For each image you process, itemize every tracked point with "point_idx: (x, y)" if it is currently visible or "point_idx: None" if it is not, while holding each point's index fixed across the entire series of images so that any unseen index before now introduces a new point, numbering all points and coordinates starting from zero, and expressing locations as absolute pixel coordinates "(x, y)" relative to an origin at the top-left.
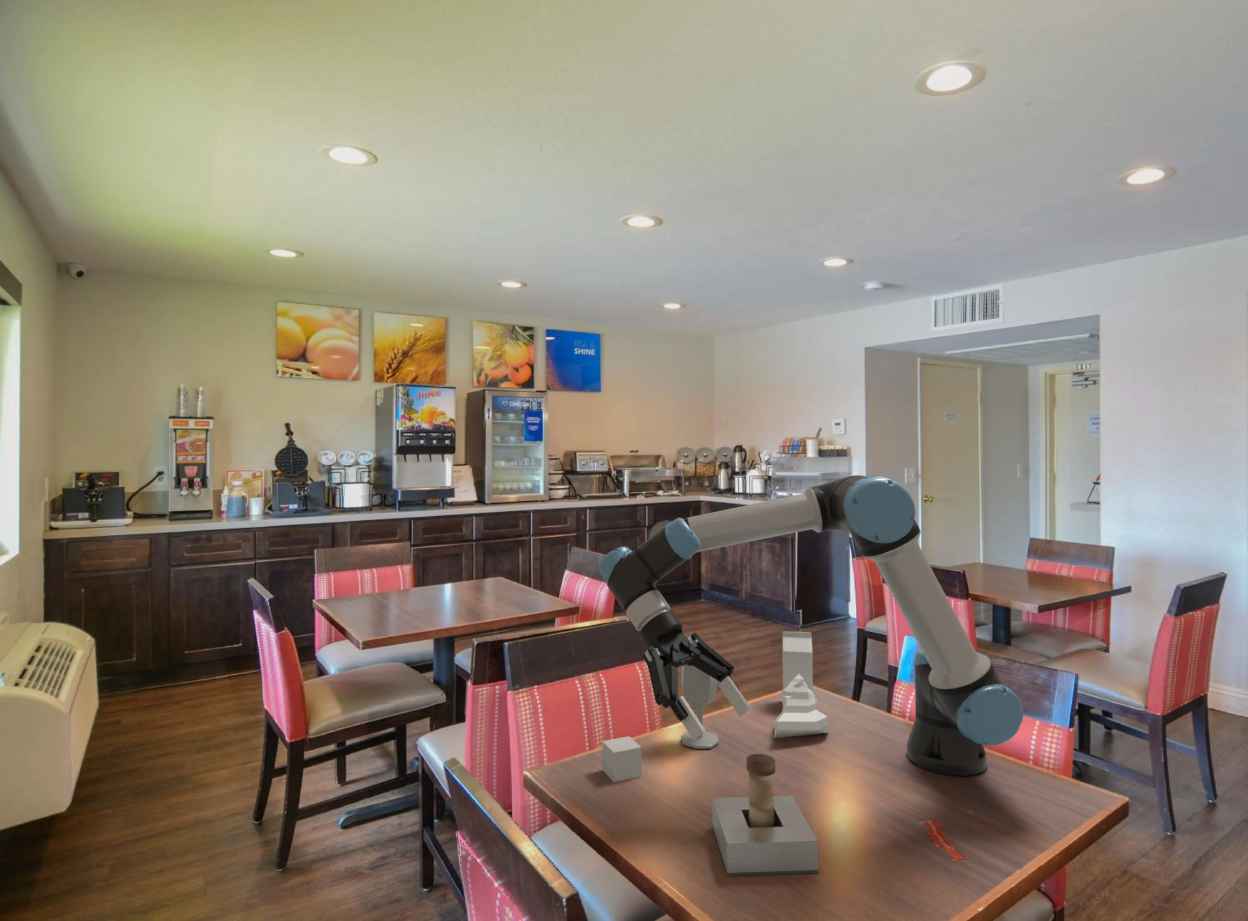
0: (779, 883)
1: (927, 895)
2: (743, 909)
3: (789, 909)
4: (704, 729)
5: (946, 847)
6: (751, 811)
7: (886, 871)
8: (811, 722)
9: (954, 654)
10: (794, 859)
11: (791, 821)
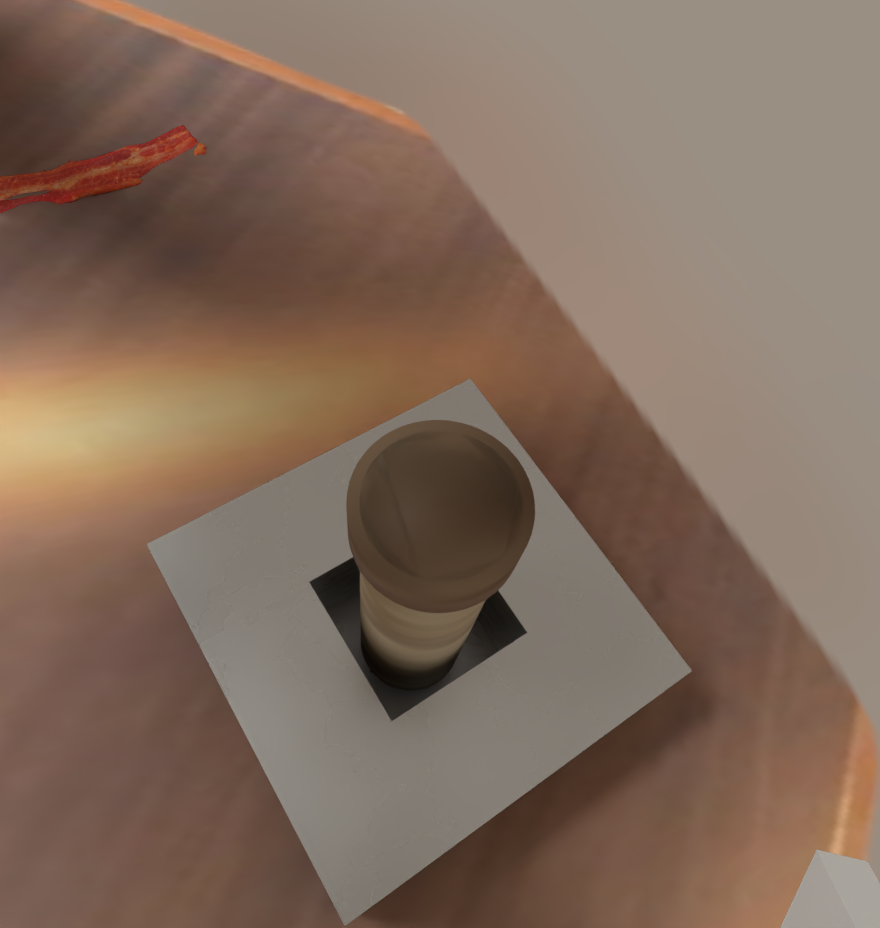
0: None
1: (406, 194)
2: (763, 585)
3: (675, 468)
4: (830, 860)
5: (140, 161)
6: (470, 629)
7: (344, 279)
8: None
9: None
10: None
11: None
